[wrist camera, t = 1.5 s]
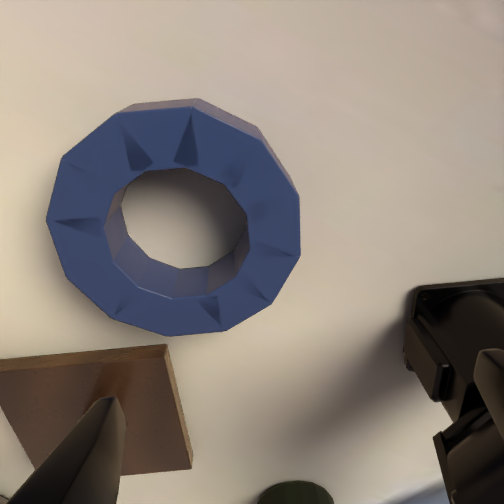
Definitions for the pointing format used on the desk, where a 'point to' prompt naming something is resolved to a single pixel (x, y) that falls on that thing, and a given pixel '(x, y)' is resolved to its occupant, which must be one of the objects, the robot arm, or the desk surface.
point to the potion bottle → (296, 494)
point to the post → (88, 392)
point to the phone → (3, 500)
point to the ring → (134, 258)
